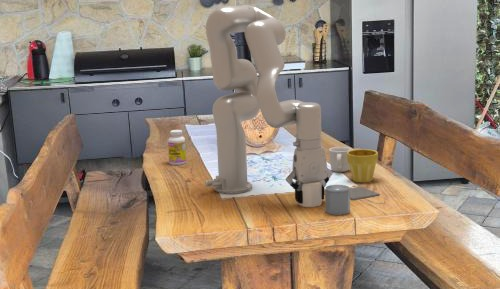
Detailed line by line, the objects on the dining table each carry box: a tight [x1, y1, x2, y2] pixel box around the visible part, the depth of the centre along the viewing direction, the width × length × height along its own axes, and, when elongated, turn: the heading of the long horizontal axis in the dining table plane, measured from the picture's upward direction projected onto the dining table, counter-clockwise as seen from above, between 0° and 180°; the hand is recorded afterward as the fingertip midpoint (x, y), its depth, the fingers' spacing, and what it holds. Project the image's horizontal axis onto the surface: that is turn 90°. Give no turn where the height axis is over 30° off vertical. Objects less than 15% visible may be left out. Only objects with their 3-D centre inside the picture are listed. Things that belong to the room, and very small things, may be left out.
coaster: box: [349, 186, 380, 201], centre depth 231 cm, size 10×10×1 cm
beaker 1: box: [297, 180, 323, 208], centre depth 222 cm, size 7×7×7 cm
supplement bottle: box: [167, 129, 187, 166], centre depth 279 cm, size 7×7×13 cm
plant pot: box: [347, 148, 379, 184], centre depth 246 cm, size 10×10×10 cm
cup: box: [328, 146, 352, 173], centre depth 258 cm, size 11×8×8 cm
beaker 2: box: [324, 184, 351, 216], centre depth 213 cm, size 7×7×7 cm
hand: (309, 200), depth 222 cm, fingers closed on beaker 1, 6 cm apart
